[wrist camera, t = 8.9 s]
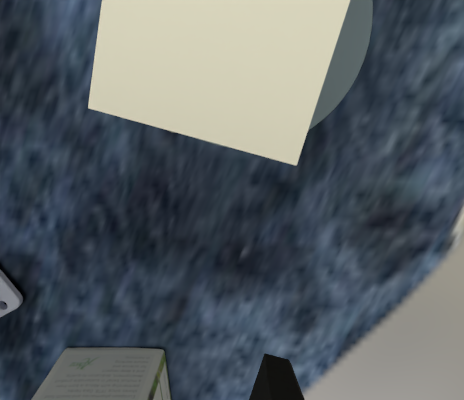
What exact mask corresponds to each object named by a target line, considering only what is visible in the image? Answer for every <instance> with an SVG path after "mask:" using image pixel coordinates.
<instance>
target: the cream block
mask: <svg viewBox="0 0 464 400" xmlns="http://www.w3.org/2000/svg"><path fill="white" fill-rule="evenodd" d="M349 3H350V0H102V5H101V12H100V20H99V28H98V35H97V43H96V50H95V58H94V66H93V73H92V81H91V88H90V96H89V104H88V108H89V109H93V110H97V111H100V112H104V113H107V114H111V115H115V116H118V117H122V118H126V119H129V120H133V121H136V122H140V123H144V124H147V125H151V126H155V127H158V128H162V129H165V130H169V131H173V132H176V133H180V134H183V135H187V136H191V137H194V138H198V139H202V140H205V141H209V142H212V143H216V144H220V145H223V146H227V147H231V148H234V149H238V150H241V151H245V152H249V153H252V154H256V155H260V156H263V157H267V158H270V159H274V160H278V161H281V162H285V163H288V164H292V165H296V166H297V163H298V159H299V156H300V153H301V150H302V147H303V144H304V141H305V138H306V135H307V132H308V129H309V126H310V123H311V120H312V117H313V113H314V110H315V107H316V104H317V101H318V98H319V95H320V92H321V89H322V86H323V83H324V80H325V77H326V74H327V70H328V67H329V64H330V61H331V58H332V55H333V52H334V49H335V46H336V43H337V40H338V37H339V34H340V31H341V27H342V24H343V21H344V18H345V15H346V12H347V9H348V6H349Z"/></svg>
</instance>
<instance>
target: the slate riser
mask: <svg viewBox="0 0 464 400" xmlns="http://www.w3.org/2000/svg"><path fill="white" fill-rule="evenodd" d="M372 15H373V3H372V0H350V3H349V6H348V9H347V12H346V15H345V18H344V21H343V24H342V27H341V31H340V34H339V37H338V40H337V43H336V46H335V49H334V52H333V55H332V58H331V61H330V64H329V67H328V70H327V74H326V77H325V80H324V83H323V86H322V89H321V92H320V95H319V98H318V101H317V104H316V107H315V110H314V113H313V117H312V120H311V123H310V126H309V129H311V128H312V127H314V126H315V125H316V124H318V123H319V122H320V121H321V120H323V119H324V118H325V117H326V116H327V115H328V114H329V113H330V112H331V111H332V110H333V109H334V108H335V107H336V106H337V105H338V104H339V103H340V101H341V100H342V99H343V97H344V96H345V95H346V94H347V92H348V91H349V89H350V87H351V86H352V84H353V82H354V81H355V79H356V77H357V75H358V73H359V70H360V68H361V66H362V64H363V61H364V58H365V55H366V52H367V48H368V45H369V40H370V34H371V29H372ZM309 129H308V130H309ZM197 139H198V138H197ZM200 140H202V139H200ZM202 141H205V140H202ZM205 142H208V143H211V144H214V145H219V146H223V145H220V144H216V143H212V142H209V141H205ZM223 147H227V146H223ZM229 148H231V147H229Z"/></svg>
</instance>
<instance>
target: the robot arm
mask: <svg viewBox="0 0 464 400" xmlns="http://www.w3.org/2000/svg"><path fill="white" fill-rule="evenodd" d="M3 301H4V302H5V303H6V304H7V305H5V304H4V303H3ZM22 302H23V297H22V295H21V293H20V292H19V291H18V290H17V289H16V288H15V286H14V285H13V284H12V283H11V282H10V280H9V279H8V278H7V277H6V276H5V274H4V273H3V272H2V271H1V270H0V317H2V316H4V315H6V314H7V313H9V312H11V311H13V310H15V309H17V308H18V307H19V306H20V305H21V304H22ZM249 400H304V397H303V395H302V392H301V389H300V387H299V384H298V382H297V379H296V376H295V373H294V371H293V368H292V365H291V363H290V361H289V360H288V359H284V358H280V357H276V356H272V355H269V354H264V357H263V360H262V363H261V366H260V369H259V372H258V375H257V378H256V381H255V384H254V387H253V390H252V393H251V396H250V398H249Z"/></svg>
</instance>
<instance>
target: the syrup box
mask: <svg viewBox="0 0 464 400" xmlns="http://www.w3.org/2000/svg"><path fill="white" fill-rule="evenodd" d="M32 400H172V399H171V393H170V386H169V379H168V372H167V365H166V357H165V352H164V350H162V349H150V348H66V349H65V350H64V351H63V352H62V354H61V355H60V357H59V358H58V360H57V362H56V363H55V365H54V366H53V368H52V369H51V371H50V373H49V374H48V376H47V377H46V379H45V380H44V381H43V383H42V384H41V386H40V387H39V389H38V391H37V392H36V394H35V395H34V397H33V398H32Z"/></svg>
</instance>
